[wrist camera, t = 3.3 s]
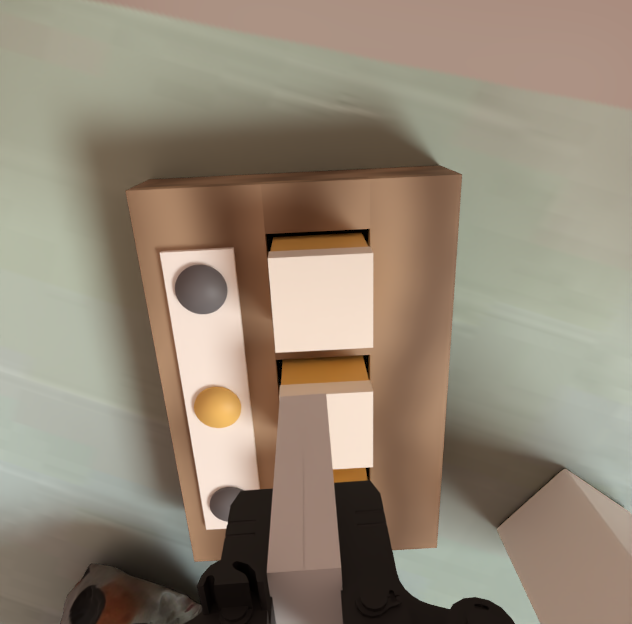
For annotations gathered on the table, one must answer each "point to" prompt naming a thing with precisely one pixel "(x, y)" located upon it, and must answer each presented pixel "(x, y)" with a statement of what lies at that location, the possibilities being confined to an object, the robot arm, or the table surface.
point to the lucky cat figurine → (124, 600)
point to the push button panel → (213, 374)
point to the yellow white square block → (321, 292)
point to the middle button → (337, 403)
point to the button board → (383, 359)
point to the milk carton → (572, 553)
